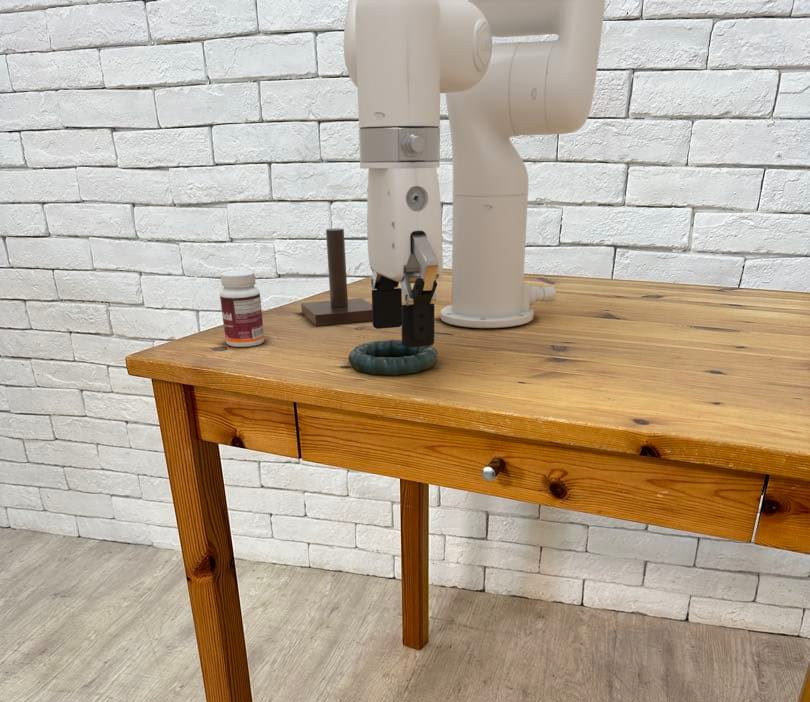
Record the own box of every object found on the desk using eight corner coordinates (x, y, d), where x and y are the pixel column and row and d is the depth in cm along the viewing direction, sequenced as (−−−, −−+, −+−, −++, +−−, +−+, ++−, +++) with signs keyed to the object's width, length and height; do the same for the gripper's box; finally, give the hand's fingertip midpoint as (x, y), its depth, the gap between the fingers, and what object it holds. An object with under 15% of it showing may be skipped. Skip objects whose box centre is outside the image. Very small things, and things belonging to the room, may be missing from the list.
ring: (419, 350, 90) (419, 335, 90) (450, 370, 82) (450, 354, 82) (340, 358, 88) (339, 343, 87) (364, 381, 80) (363, 363, 79)
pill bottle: (222, 341, 96) (213, 271, 93) (259, 336, 98) (252, 268, 94) (230, 349, 93) (221, 277, 89) (269, 344, 94) (261, 273, 90)
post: (361, 308, 113) (358, 224, 108) (380, 320, 105) (376, 230, 100) (301, 313, 110) (294, 228, 105) (316, 326, 103) (309, 234, 98)
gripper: (473, 149, 65) (468, 351, 73) (407, 151, 80) (408, 318, 88) (390, 150, 63) (393, 358, 71) (337, 152, 78) (345, 323, 86)
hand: (402, 336), depth 79 cm, fingers open, 9 cm apart
